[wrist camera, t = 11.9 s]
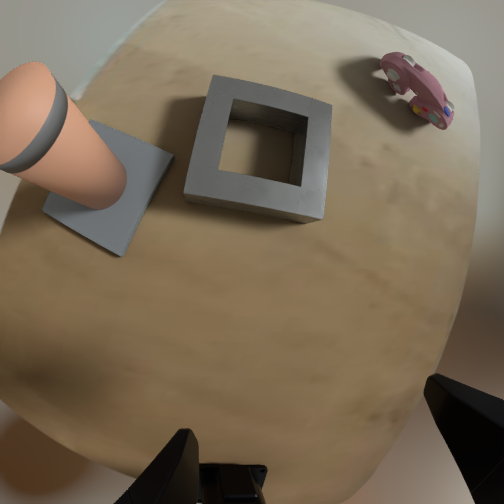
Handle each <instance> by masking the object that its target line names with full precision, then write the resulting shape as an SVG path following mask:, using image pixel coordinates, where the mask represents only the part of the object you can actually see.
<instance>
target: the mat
mask: <svg viewBox="0 0 504 504" xmlns="http://www.w3.org/2000/svg"><path fill="white" fill-rule="evenodd" d="M88 123H89V124H90V125H91V126H92V128H93V129H94V130H95V131H96V133H97V134H98V135H99V136H100V138H101V139H102V140H103V141H104V142H105V144H106V145H107V146H108V147H109V149H110V150H111V151H112V152H113V153H114V155H115V156H116V157H117V158H118V159H119V161H120V162H121V163H122V164H123V166H124V168H125V170H126V174H127V183H126V187H125V190H124V192H123V194H122V196H121V197H120V199H119V200H118V201H117V202H116V203H115V204H113V205H112V206H110V207H108V208H106V209H101V210H95V209H92V208H89V207H87V206H84V205H82V204H80V203H77V202H75V201H73V200H70V199H68V198H66V197H63V196H61V195H59V194H56V193H54V192H52V191H50V193H49V195H48V197H47V199H46V201H45V204H44V206H43V208H42V211H43V212H45V213H47V214H48V215H50V216H51V217H53V218H55V219H56V220H58V221H60V222H61V223H63V224H65V225H66V226H68V227H70V228H71V229H73V230H75V231H76V232H78V233H80V234H82V235H83V236H85V237H87V238H89V239H90V240H92V241H94V242H96V243H97V244H99V245H101V246H103V247H104V248H106V249H108V250H110V251H112V252H114V253H115V254H117V255H119V256H121V257H124V255H125V252H126V250H127V248H128V246H129V243H130V241H131V239H132V237H133V235H134V233H135V230H136V228H137V226H138V224H139V222H140V220H141V218H142V216H143V214H144V212H145V210H146V208H147V206H148V204H149V202H150V200H151V198H152V197H153V195H154V193H155V191H156V189H157V187H158V185H159V184H160V182H161V180H162V178H163V176H164V175H165V173H166V171H167V169H168V167H169V166H170V164H171V162H172V161H173V159H174V155H173V154H171V153H169V152H167V151H165V150H162V149H160V148H158V147H156V146H153V145H151V144H149V143H147V142H144V141H142V140H140V139H137V138H135V137H133V136H130V135H128V134H126V133H123V132H121V131H119V130H116V129H114V128H111V127H109V126H106V125H104V124H102V123H99V122H97V121H94V120H91V119H90V121H89V122H88Z"/></svg>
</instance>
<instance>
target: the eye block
mask: <svg viewBox="0 0 504 504" xmlns="http://www.w3.org/2000/svg"><path fill="white" fill-rule="evenodd" d="M229 118H233V119H238V120H243V121H248V122H252V123H257V124H261V125H266V126H270V127H274V128H278V129H282V130H286V131H290V132H293V133H295V135H294V144H293V152H292V160H291V168H290V176H289V184H286V183H282V182H277V181H273V180H268V179H264V178H259V177H254V176H249V175H244V174H239V173H233V172H228V171H223V170H218V167H219V162H220V157H221V152H222V147H223V143H224V138H225V133H226V129H227V124H228V120H229ZM331 119H332V105H331V104H328V103H325V102H322V101H319V100H316V99H313V98H310V97H306V96H303V95H300V94H297V93H293V92H290V91H286V90H282V89H279V88H275V87H271V86H267V85H263V84H258V83H254V82H249V81H245V80H240V79H234V78H229V77H223V76H217V75H213V77H212V80H211V83H210V87H209V90H208V93H207V97H206V100H205V104H204V108H203V111H202V115H201V119H200V123H199V126H198V130H197V134H196V138H195V142H194V147H193V151H192V155H191V159H190V164H189V168H188V173H187V177H186V182H185V187H184V192H183V194H184V197H185V201H186V202H189V203H196V204H202V205H208V206H214V207H220V208H225V209H231V210H237V211H242V212H248V213H253V214H259V215H264V216H269V217H275V218H280V219H285V220H290V221H295V222H300V223H305V224H307V223H311V222H315V221H319V220H323V216H324V207H325V197H326V187H327V177H328V165H329V152H330V137H331Z"/></svg>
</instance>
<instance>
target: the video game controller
mask: <svg viewBox="0 0 504 504" xmlns="http://www.w3.org/2000/svg"><path fill="white" fill-rule="evenodd" d="M379 65H380V67H381V68H382V69H383V71H384V72H385V74H386V75H387V77H388V83H389V85H390V87H391V88H392V89H393V90H394V91H395V92H396V93H398V94H400V95H404V94H405V93H406V92H408V91H409V90H410V89H411V90H412V91H413V92H414V93H415V94H416V95H417V96H414V97H413V98H412V99H411V101H410V102H409V106H410V108H411V109H412V111H413V112H414V113H415V114H417V115H418V116H420V117H423V118H425V119H427V120H428V121H429V122H431V123H432V124H433V125H434V126H436V127H437V128H439V129H442V130H445V129H447V127H448V126H449V125H450V124H451V122H452V120H453V116H454V105H453V104H452V103H451V102H450V101H448V99H447V97H446V95H445V93H444V91H443V89H442V87H441V85H440V83H439V82H438V81H437V79H436V78H435V77H434V76H433V75H432V74H431V73H430V72H428V71H426V70H425V69H424V68H422V67H421V66H420V65H418V64H417V63H415V61H414V60H413V58H412V57H411V56H409V55H405V54H403V53H400V52H393V53H388V54H386V55H384V56H383V58H382V59H381V60H380V63H379Z"/></svg>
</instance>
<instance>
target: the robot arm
mask: <svg viewBox="0 0 504 504" xmlns="http://www.w3.org/2000/svg"><path fill="white" fill-rule="evenodd" d="M424 397H425V399H426V401H427V404H428V406H429V408H430V411H431V413H432V416H433V418H434V421H435V423H436V425H437V427H438V429H439V431H440V433H441V434H442V436H443V438H444V440H445V442H446V444H447V445H448V448H449V449H450V451H451V453H452V455H453V457H454V459H455V461H456V463H457V465H458V467H459V469H460V471H461V473H462V476H463V478H464V480H465V482H466V484H467V486H468V488H469V490H470V493H471V495H472V498H473V500H474V502H475V504H504V400H503V399H500V398H498V397H495V396H492V395H490V394H487V393H485V392H482V391H480V390H477V389H475V388H472V387H470V386H467V385H465V384H462V383H460V382H458V381H455V380H453V379H450V378H448V377H445V376H443V375H441V374H438V373H435V374H433V375H431V376H429V377H428V378H427V381H426V384H425V388H424ZM262 469H263V470H262ZM267 471H268V470H267V467H266V466H265V465H252V466H230V465H207V464H201V465H199V446H198V441H197V439H196V437H195V435H194V433H193V432H192V430H191V429H189V428H185V429H179V430H178V431H177V432H176V434H175V435H174V436H173V437H172V438H171V440H170V441H169V442H168V443H167V444H166V446H165V447H164V448H163V449H162V450H161V452H160V453H159V454H158V455H157V456H156V458H155V459H154V460H153V461H152V462H151V463H150V465H149V466H148V467H147V468H146V469H145V470H144V471H143V473H142V474H141V475H140V476H139V477H138V478H137V479H136V480H135V482H134V483H133V484H132V485H131V486H130V487H129V488H128V490H126V492H125V493H124V494H123V495H122V496H121V497H120V498H119V499H118V500H117V501H116V502H115V503H114V504H196V503H202V504H266V502H265V499H264V496H263V493H262V491H261V490H262V487H263V484H264V481H265V477H266V474H267Z"/></svg>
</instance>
